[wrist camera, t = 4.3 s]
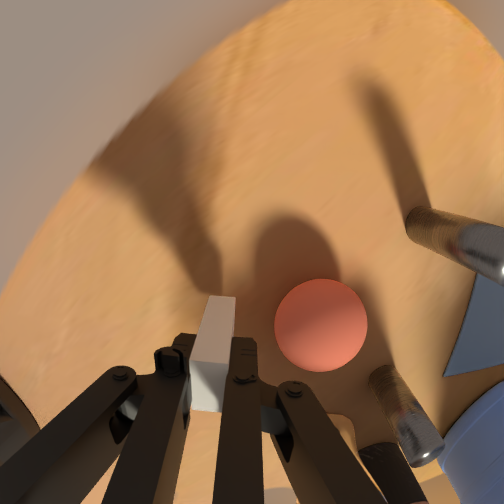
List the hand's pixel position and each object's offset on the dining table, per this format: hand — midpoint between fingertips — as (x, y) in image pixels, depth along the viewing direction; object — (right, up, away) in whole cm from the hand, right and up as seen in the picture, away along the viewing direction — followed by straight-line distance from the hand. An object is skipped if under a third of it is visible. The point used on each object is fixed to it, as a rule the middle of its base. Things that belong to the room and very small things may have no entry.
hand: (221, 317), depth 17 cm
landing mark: (+27, -1, +3) cm, 27 cm away
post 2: (+13, +6, +1) cm, 15 cm away
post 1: (+12, -6, +4) cm, 15 cm away
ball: (+6, 0, 0) cm, 6 cm away
